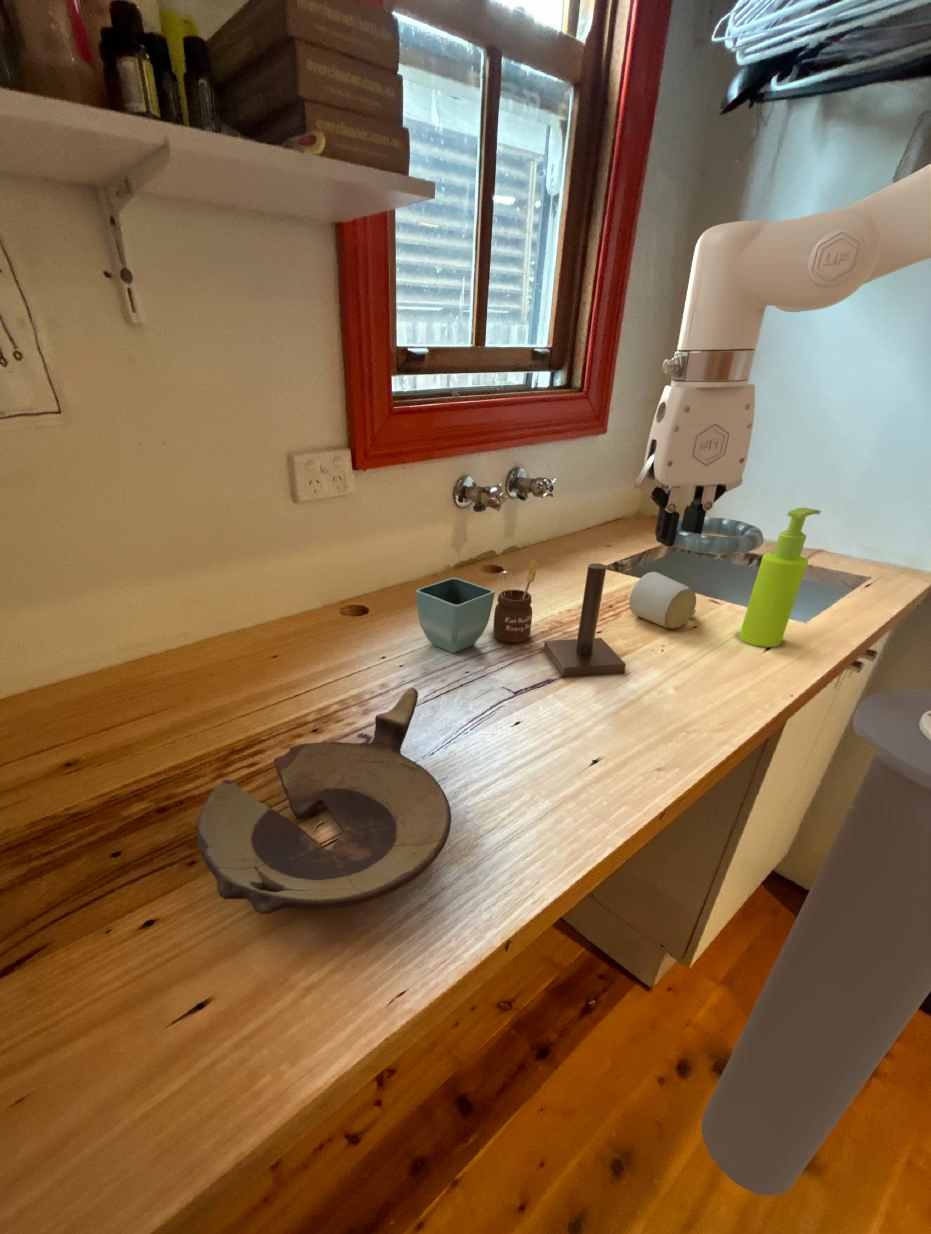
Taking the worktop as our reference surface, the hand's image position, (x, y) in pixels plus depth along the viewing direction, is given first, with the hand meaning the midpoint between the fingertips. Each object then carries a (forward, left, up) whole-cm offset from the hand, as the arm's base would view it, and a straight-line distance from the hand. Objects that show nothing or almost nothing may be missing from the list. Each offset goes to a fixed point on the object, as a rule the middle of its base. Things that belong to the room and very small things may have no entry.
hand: (676, 541), depth 74 cm
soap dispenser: (-25, -12, -20) cm, 34 cm away
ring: (-4, 0, +1) cm, 4 cm away
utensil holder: (+14, -18, -20) cm, 30 cm away
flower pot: (+24, -16, -20) cm, 35 cm away
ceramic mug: (-13, -21, -20) cm, 32 cm away
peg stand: (+6, -8, -20) cm, 22 cm away
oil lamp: (+41, +24, -20) cm, 52 cm away
